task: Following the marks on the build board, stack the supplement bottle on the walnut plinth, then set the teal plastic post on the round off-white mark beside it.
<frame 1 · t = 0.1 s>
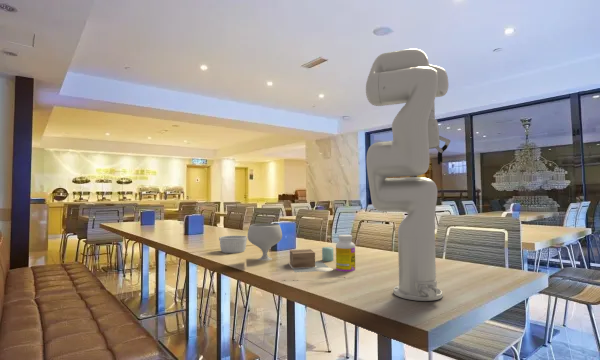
hand: (424, 165, 125), 37 cm above the table, tool pointing down, fingers open, 9 cm apart
build board: (309, 269, 126), on the table
walnut plinth: (302, 265, 129), point 1 cm above the table, touching build board
ramekin: (233, 251, 168), on the table
chalice: (265, 262, 141), on the table
teal post: (327, 263, 137), on the table
supplement bottle: (345, 273, 121), on the table
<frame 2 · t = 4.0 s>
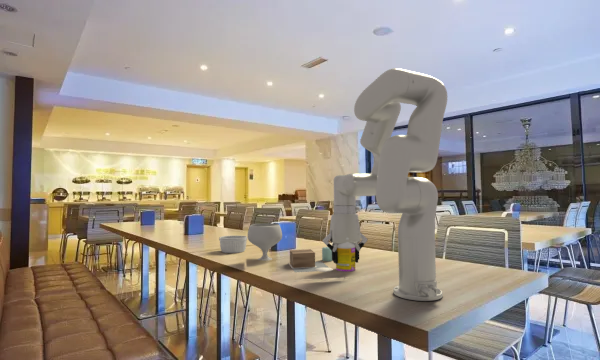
hand: (345, 262, 121), 4 cm above the table, tool pointing down, fingers closed on supplement bottle, 6 cm apart
supplement bottle: (345, 273, 121), on the table, touching gripper
everything else where it was.
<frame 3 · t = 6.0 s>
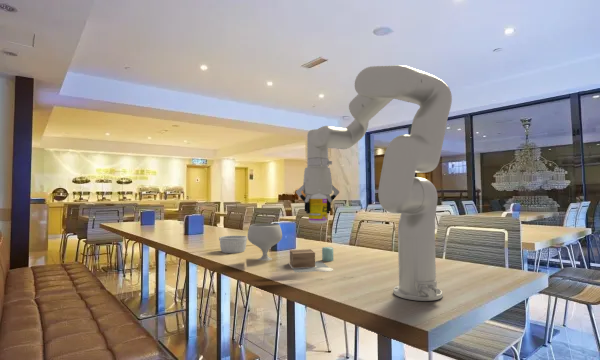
hand: (317, 212, 127), 20 cm above the table, tool pointing down, fingers closed on supplement bottle, 6 cm apart
supplement bottle: (317, 223, 127), point 17 cm above the table, touching gripper
everything else where it was.
when the fingers open (11 cm above the table, at t = 8.5 s): supplement bottle drops 1 cm, resting on walnut plinth.
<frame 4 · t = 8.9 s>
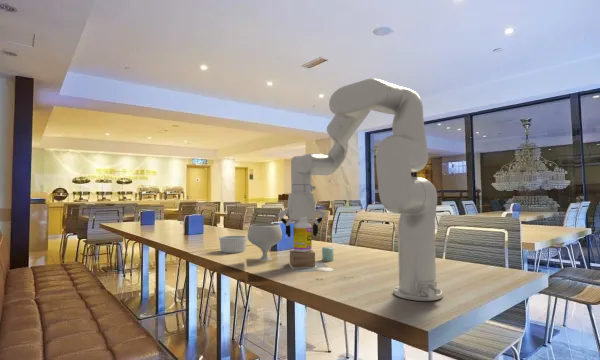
hand: (301, 236, 129), 12 cm above the table, tool pointing down, fingers open, 9 cm apart
walnut plinth: (302, 265, 129), point 1 cm above the table, touching supplement bottle, build board
supplement bottle: (302, 251, 129), point 6 cm above the table, touching walnut plinth
everything else where it was.
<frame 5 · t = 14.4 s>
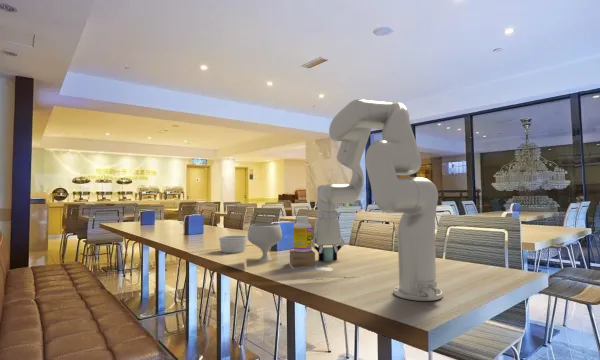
hand: (327, 262, 137), 0 cm above the table, tool pointing down, fingers closed on teal post, 4 cm apart
teal post: (327, 263, 137), on the table, touching gripper
everything else where it was.
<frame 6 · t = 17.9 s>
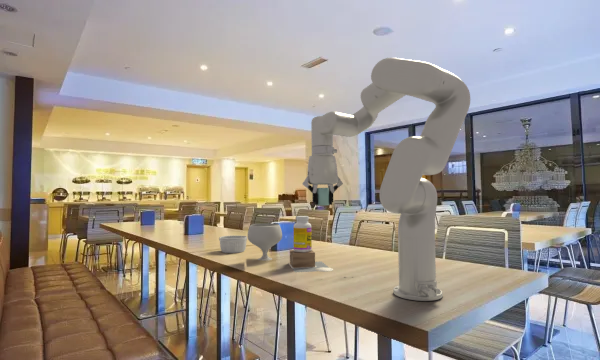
hand: (322, 204, 122), 24 cm above the table, tool pointing down, fingers closed on teal post, 4 cm apart
teal post: (322, 205, 122), point 23 cm above the table, touching gripper
everything else where it was.
when the fingers open (3 cm above the table, at t = 21.8 s): teal post drops 1 cm, resting on build board.
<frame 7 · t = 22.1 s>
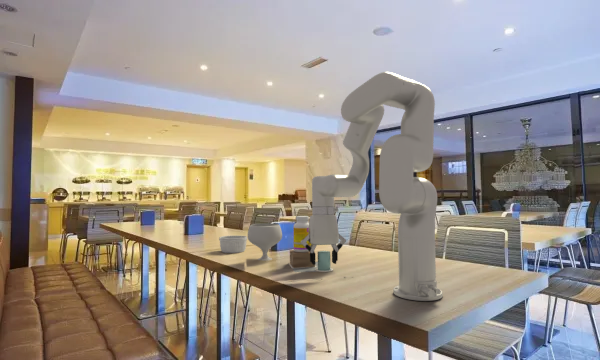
hand: (323, 263, 121), 3 cm above the table, tool pointing down, fingers open, 6 cm apart
teal post: (324, 269, 121), point 1 cm above the table, touching build board
everything else where it was.
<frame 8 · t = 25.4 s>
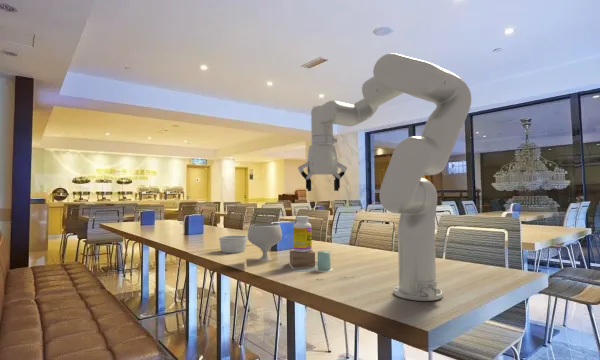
hand: (322, 190, 122), 28 cm above the table, tool pointing down, fingers open, 9 cm apart
nothing on the table moved.
at the end: supplement bottle inside the target area on the walnut plinth (0.2 cm from its centre), point 4.8 cm above the walnut plinth's base; supplement bottle tilted 0°; teal post inside the target area (0.1 cm from its centre), point 1.2 cm above the table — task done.
